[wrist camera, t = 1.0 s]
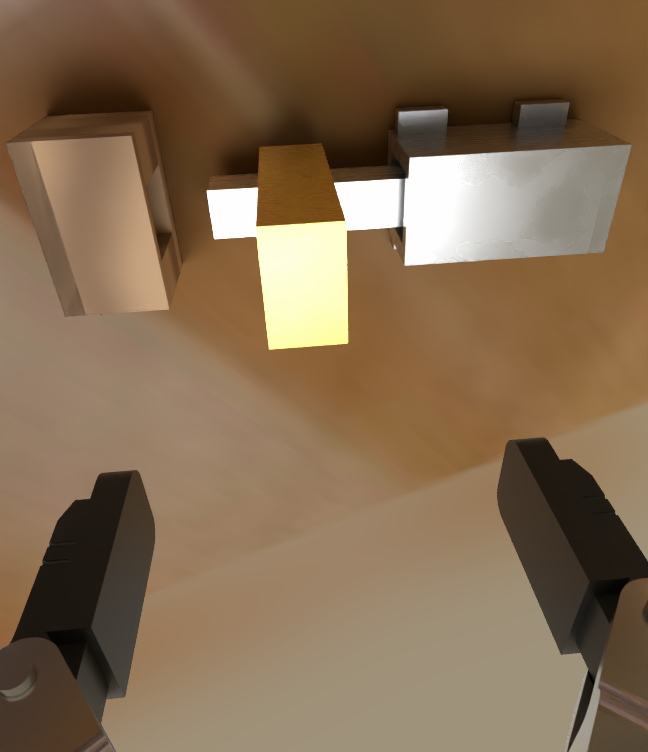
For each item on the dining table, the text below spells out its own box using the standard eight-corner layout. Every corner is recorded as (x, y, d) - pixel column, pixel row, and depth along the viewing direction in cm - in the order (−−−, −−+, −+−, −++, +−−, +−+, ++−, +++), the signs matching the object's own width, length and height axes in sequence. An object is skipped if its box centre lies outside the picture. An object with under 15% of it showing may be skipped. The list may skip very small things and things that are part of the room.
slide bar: (535, 130, 28) (653, 201, 19) (519, 225, 31) (616, 323, 22) (206, 149, 27) (179, 231, 19) (221, 244, 30) (202, 353, 22)
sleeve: (582, 97, 29) (638, 119, 24) (555, 231, 33) (598, 270, 28) (389, 108, 28) (411, 133, 24) (385, 242, 32) (403, 284, 28)
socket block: (152, 110, 27) (131, 135, 23) (182, 264, 32) (169, 309, 28) (46, 116, 27) (5, 142, 23) (91, 270, 32) (64, 316, 28)
